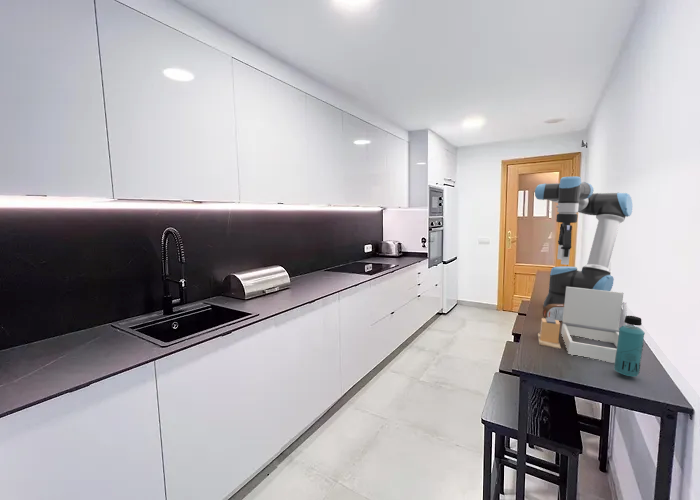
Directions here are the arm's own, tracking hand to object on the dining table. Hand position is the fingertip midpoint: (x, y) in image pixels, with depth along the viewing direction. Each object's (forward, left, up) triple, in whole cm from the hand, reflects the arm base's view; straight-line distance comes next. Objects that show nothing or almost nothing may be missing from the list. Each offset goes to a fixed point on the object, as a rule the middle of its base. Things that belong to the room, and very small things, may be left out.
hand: (562, 261), depth 144 cm
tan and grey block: (+18, -4, -30) cm, 35 cm away
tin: (-12, +2, -31) cm, 33 cm away
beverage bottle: (+39, +16, -31) cm, 52 cm away
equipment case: (+18, +11, -31) cm, 37 cm away
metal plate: (+18, -4, -31) cm, 36 cm away
